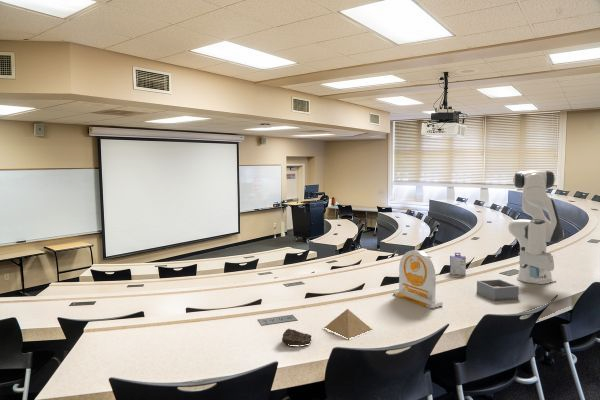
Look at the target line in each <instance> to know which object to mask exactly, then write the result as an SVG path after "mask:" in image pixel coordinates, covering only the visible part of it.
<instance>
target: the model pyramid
mask: <svg viewBox="0 0 600 400" xmlns="http://www.w3.org/2000/svg"><path fill="white" fill-rule="evenodd" d="M323 328H327V329H329V330H331V331H333V332H336V333H338V334H340V335H342V336H344V337H346V338H348V339H349V338H351V337H355V336H357V335H360V334H362V333H365V332H367V331H370V330H373V328H372V327H370V326H369V325H367V323H365V322H364V321H363V320H362V319H360V318H359V317H358V316H357V315H356V314H355V313H353V312H352V311H351V310H350V309H348V308H347V309H345V310H344V311H343V312H342V313H340V314H339V315H338V316H337V317H335V318H334V319H333V320H331V321H330V322H329V323H328V324H326V326H324V327H323ZM370 332H371V331H370ZM365 334H366V333H365Z"/></svg>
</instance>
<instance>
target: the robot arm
mask: <svg viewBox="0 0 600 400" xmlns="http://www.w3.org/2000/svg"><path fill="white" fill-rule="evenodd" d="M512 178H513V179H512V183H513V185H514V187H515V188H518V189H522V196H521V197H522V198H521V199H522V201H521V210H522V212H523V213H524V214H526V215H528V216H530V217H532V219H514V220H513V219H512V220H511V221H510V222H509V223H508V227H507V228H508V232H509V233H510V234H511V235H512V236H514V238H515V239H516V240H517V242H518V243H519V249H520V251H519V263H518V264H519V267H518V268H519V270H518V273H517V277H516V280H517V281H520V282H524V283H529V284H537V285H538V284H539V285H544V284H551V283H555V281H556V280H557V279H555V278H553V275H552V272H553V271H554V269H555V262H554V256H553V255H552V254H551V253H550V252H547V243H550V244H551V243H552V244H558V243H559V242H562V241H563V240H564V236H565V233H564V229H563V226H562V224H561V220H560V218H559V217H560V216H559V214H558V209H557V206H556V204H555V201H554V200H553V198H551V197H550V196H548V194H547V189H550V188H553V186H554V185H555V183H556V175H555V173H554V172H553V171H550V170H527V171H526V170H525V171H517V172H516V173H515V174H514V175H513V177H512ZM544 211H545V212H547V214H548V217H549V219H548V218H547V217H546V215H545V214H544ZM530 266H533V267H536V268H539V270H540V271H539V273H537V274H538V275H537V276H539V277H542V281H534V280H531V279H530ZM550 282H551V283H550ZM556 282H557V281H556Z"/></svg>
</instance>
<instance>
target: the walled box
mask: <svg viewBox="0 0 600 400" xmlns="http://www.w3.org/2000/svg"><path fill="white" fill-rule="evenodd" d="M519 289H520V287H519V286H518V285H515V284H513V283H510V282H508V281H505V280H503V279H501V278H499V279H484V280H476V294H479V295H481V296H482V297H485V298H487V299H489V300H491V301H494V302H498V301H508V300H518V299H519V292H520V291H519Z"/></svg>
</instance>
